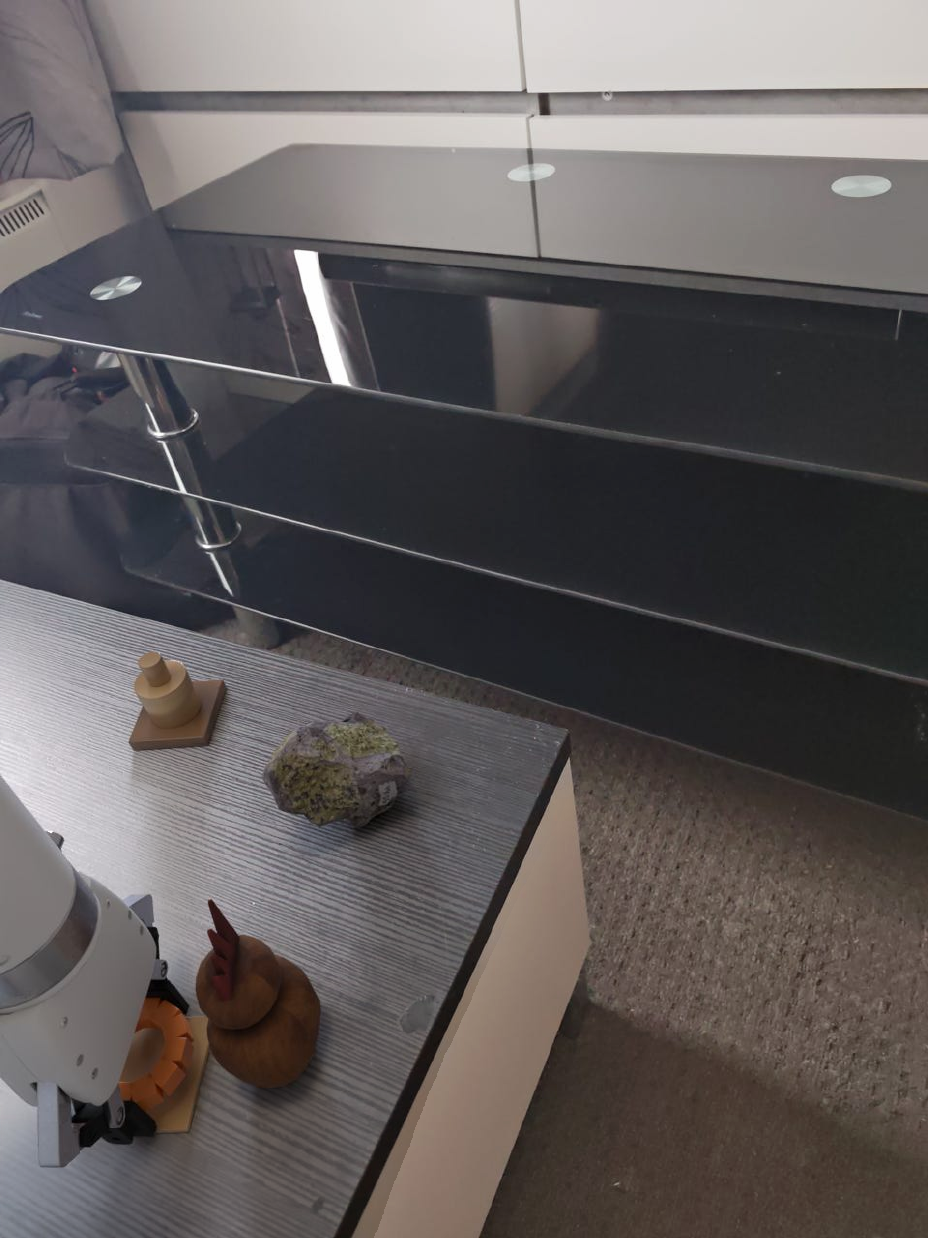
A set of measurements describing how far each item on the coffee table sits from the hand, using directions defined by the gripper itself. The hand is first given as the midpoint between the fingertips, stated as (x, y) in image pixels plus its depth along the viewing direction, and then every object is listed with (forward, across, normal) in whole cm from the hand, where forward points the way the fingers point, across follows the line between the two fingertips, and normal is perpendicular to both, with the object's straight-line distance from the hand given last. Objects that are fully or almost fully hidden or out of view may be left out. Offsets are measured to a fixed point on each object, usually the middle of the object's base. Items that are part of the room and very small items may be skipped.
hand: (150, 1068), depth 59 cm
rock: (+1, -20, +11) cm, 22 cm away
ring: (-1, 0, 0) cm, 1 cm away
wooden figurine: (+1, -1, +8) cm, 9 cm away
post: (+1, -31, -7) cm, 32 cm away
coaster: (+1, 0, 0) cm, 1 cm away
